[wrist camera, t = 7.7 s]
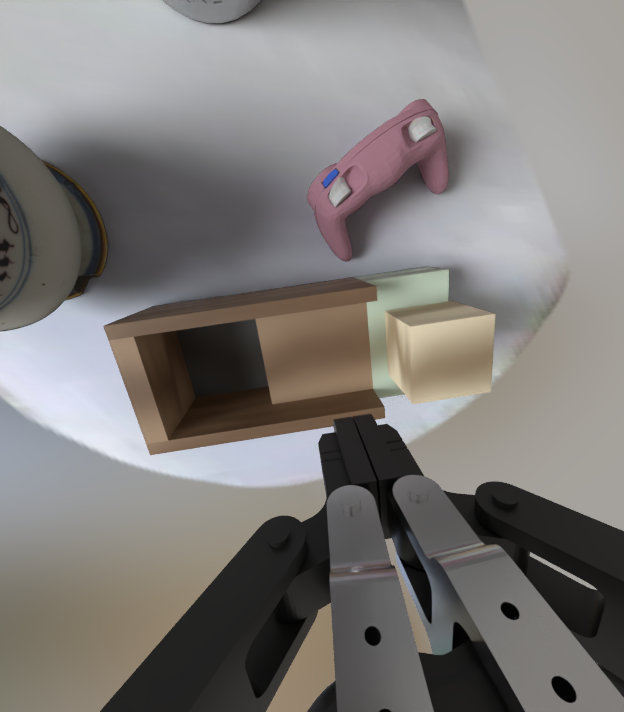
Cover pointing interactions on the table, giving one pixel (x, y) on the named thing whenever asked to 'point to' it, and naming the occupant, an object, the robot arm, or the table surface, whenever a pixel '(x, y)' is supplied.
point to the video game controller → (379, 170)
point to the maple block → (440, 350)
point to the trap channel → (264, 358)
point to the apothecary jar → (43, 236)
